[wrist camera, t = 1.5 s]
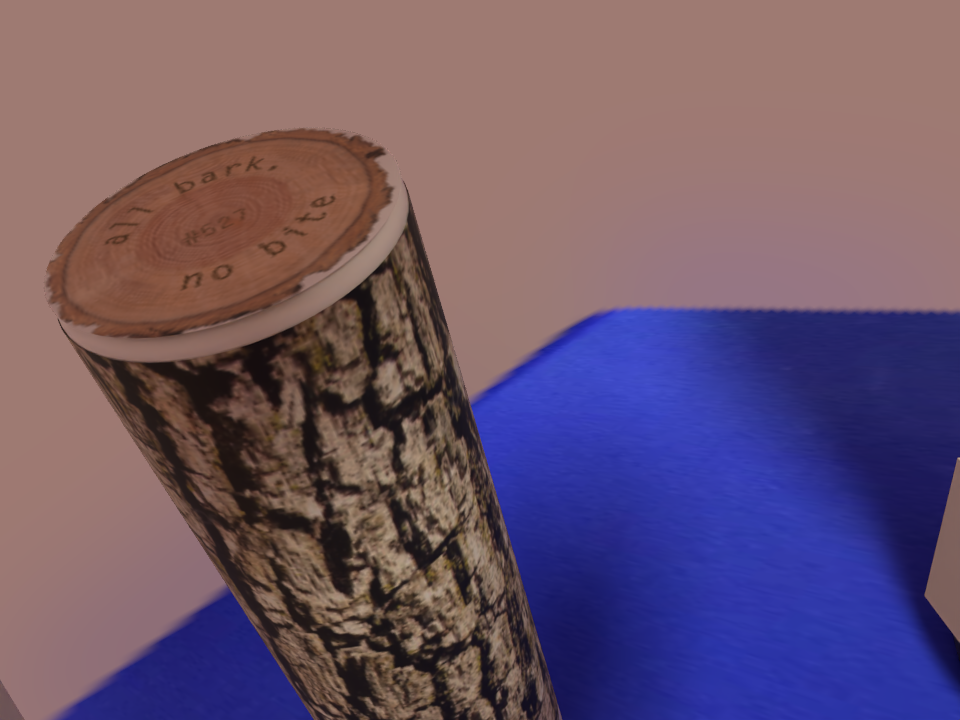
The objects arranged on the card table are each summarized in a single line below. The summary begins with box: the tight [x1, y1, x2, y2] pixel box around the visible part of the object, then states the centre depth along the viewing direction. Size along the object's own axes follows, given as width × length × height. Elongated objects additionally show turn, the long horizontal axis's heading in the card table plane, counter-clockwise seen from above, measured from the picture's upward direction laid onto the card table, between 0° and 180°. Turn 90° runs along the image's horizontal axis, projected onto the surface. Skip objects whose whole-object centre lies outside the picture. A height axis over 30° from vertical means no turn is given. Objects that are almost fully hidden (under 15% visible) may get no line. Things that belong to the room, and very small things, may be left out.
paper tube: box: [44, 128, 562, 720], centre depth 25 cm, size 7×7×25 cm
